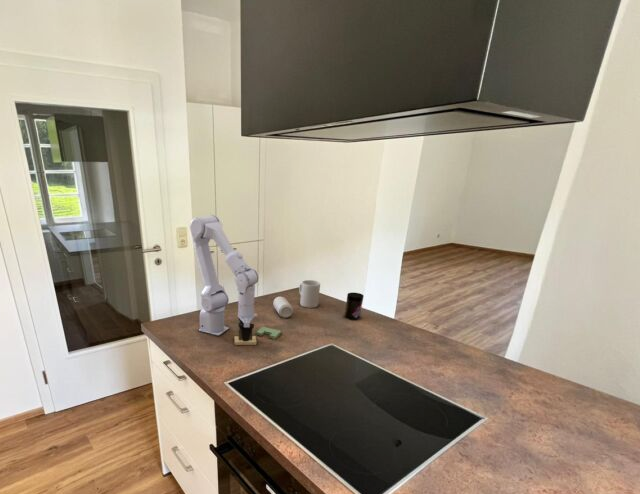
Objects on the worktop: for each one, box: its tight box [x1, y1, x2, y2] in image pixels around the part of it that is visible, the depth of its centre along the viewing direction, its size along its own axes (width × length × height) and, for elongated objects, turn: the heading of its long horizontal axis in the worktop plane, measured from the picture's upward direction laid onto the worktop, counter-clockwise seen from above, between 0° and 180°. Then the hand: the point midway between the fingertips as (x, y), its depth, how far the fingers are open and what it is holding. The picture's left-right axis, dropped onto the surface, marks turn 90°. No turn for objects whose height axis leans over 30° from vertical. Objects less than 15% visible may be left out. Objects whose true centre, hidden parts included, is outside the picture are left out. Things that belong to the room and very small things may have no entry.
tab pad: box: [234, 327, 257, 346], centre depth 135 cm, size 8×8×5 cm
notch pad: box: [255, 326, 282, 340], centre depth 141 cm, size 8×6×1 cm
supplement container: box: [344, 292, 364, 321], centre depth 157 cm, size 7×7×10 cm
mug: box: [298, 279, 321, 309], centre depth 171 cm, size 12×8×11 cm
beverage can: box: [272, 295, 294, 319], centre depth 160 cm, size 6×6×12 cm
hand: (245, 337), depth 134 cm, fingers open, 5 cm apart
